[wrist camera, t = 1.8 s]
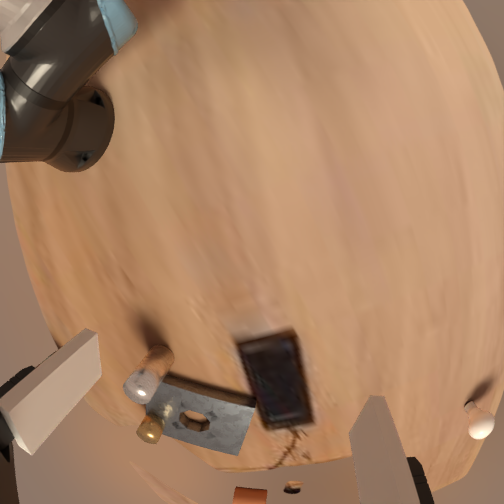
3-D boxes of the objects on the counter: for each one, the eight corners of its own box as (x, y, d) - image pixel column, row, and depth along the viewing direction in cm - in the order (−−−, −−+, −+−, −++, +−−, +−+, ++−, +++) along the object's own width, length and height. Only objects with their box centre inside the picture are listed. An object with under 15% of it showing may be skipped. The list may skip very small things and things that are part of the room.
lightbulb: (457, 401, 43) (477, 433, 33) (480, 388, 42) (501, 418, 32) (455, 418, 45) (472, 449, 34) (477, 406, 43) (496, 435, 33)
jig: (149, 420, 52) (137, 441, 46) (149, 368, 48) (134, 390, 42) (239, 447, 51) (234, 471, 44) (256, 399, 47) (252, 426, 40)
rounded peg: (150, 361, 48) (123, 397, 37) (151, 341, 47) (122, 376, 36) (173, 369, 48) (150, 408, 37) (175, 349, 47) (150, 387, 36)
